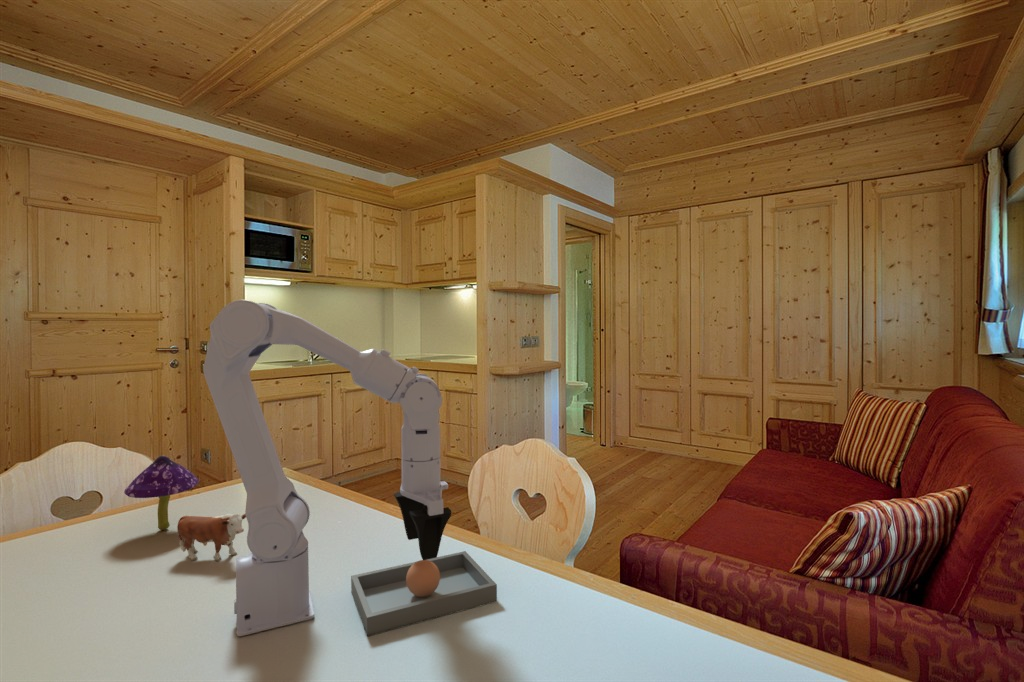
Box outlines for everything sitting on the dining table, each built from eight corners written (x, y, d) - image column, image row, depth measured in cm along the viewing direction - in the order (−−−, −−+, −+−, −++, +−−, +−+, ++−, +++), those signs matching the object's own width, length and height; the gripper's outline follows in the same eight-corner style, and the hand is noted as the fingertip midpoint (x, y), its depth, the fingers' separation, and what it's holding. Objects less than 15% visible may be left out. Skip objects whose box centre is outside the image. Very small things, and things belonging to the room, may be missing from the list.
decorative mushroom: (181, 540, 97) (179, 462, 96) (109, 544, 95) (107, 465, 95) (211, 516, 109) (209, 447, 109) (148, 519, 108) (146, 449, 107)
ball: (411, 607, 72) (411, 572, 72) (402, 590, 77) (402, 557, 77) (444, 598, 75) (444, 565, 75) (433, 583, 79) (434, 551, 79)
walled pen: (367, 636, 66) (367, 617, 66) (351, 592, 77) (351, 575, 77) (496, 601, 74) (496, 584, 74) (465, 565, 86) (465, 551, 86)
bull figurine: (238, 566, 86) (237, 518, 86) (171, 559, 89) (170, 513, 89) (256, 554, 90) (255, 509, 90) (191, 548, 93) (190, 504, 93)
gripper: (463, 465, 71) (464, 561, 71) (432, 444, 84) (432, 525, 84) (414, 471, 67) (415, 572, 68) (389, 448, 80) (389, 533, 81)
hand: (421, 547), depth 76 cm, fingers open, 7 cm apart
